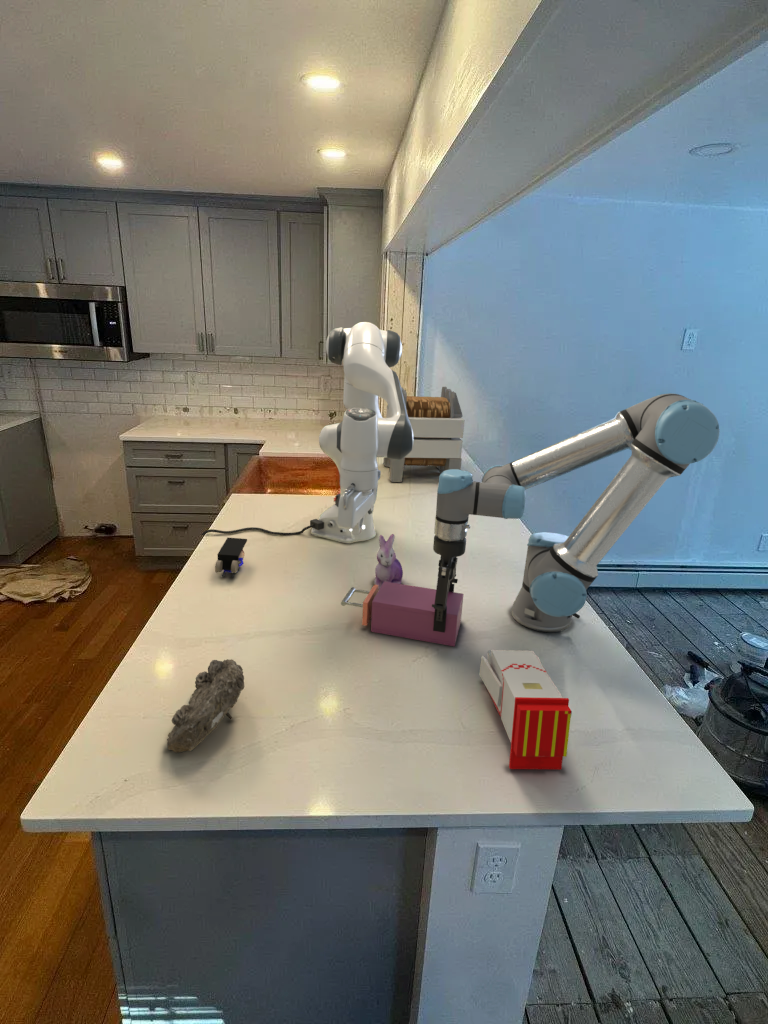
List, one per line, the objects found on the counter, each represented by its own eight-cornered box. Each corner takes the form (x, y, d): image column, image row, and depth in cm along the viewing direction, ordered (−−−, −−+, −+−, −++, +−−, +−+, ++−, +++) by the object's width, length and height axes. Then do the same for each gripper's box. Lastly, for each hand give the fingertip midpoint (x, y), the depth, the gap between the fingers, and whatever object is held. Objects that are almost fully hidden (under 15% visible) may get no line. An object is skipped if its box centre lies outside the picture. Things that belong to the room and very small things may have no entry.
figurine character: (238, 584, 162) (249, 557, 175) (236, 562, 158) (247, 536, 172) (215, 584, 161) (227, 556, 175) (212, 561, 158) (225, 535, 171)
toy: (530, 632, 124) (581, 706, 94) (525, 688, 126) (573, 777, 97) (475, 631, 123) (509, 705, 94) (471, 687, 126) (503, 777, 96)
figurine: (381, 594, 157) (383, 544, 152) (365, 579, 165) (367, 531, 160) (411, 588, 161) (414, 539, 156) (393, 573, 169) (396, 527, 164)
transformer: (382, 463, 289) (386, 382, 275) (445, 464, 293) (451, 384, 279) (390, 482, 257) (394, 392, 243) (460, 483, 261) (468, 394, 247)
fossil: (192, 660, 117) (244, 628, 112) (224, 691, 120) (276, 661, 115) (142, 746, 98) (202, 712, 93) (182, 779, 101) (242, 748, 96)
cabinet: (370, 631, 139) (372, 601, 136) (382, 609, 149) (384, 581, 146) (454, 646, 134) (457, 615, 131) (460, 622, 145) (463, 593, 142)
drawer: (339, 621, 141) (339, 598, 139) (351, 602, 150) (352, 580, 148) (439, 638, 135) (441, 615, 133) (445, 618, 145) (447, 595, 142)
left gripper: (358, 492, 123) (356, 551, 127) (382, 469, 141) (380, 521, 146) (330, 489, 124) (330, 547, 129) (358, 466, 143) (356, 518, 147)
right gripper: (459, 558, 120) (451, 646, 127) (472, 521, 142) (464, 598, 149) (424, 553, 122) (418, 641, 129) (442, 517, 143) (436, 594, 151)
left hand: (357, 533), depth 138 cm, fingers closed
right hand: (443, 618), depth 139 cm, fingers closed on cabinet, 11 cm apart
